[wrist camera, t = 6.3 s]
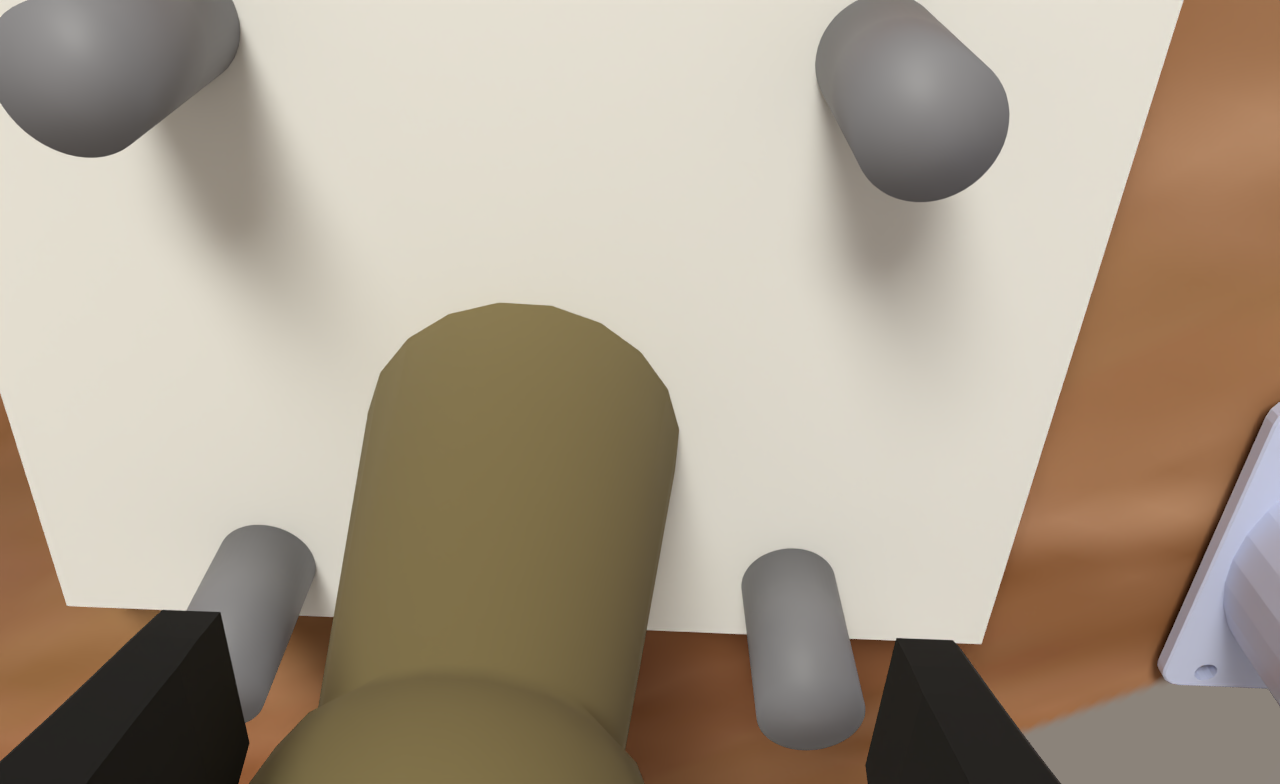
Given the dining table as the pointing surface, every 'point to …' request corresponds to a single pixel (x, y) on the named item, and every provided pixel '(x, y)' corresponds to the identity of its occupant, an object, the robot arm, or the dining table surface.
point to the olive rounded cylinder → (495, 561)
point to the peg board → (563, 283)
